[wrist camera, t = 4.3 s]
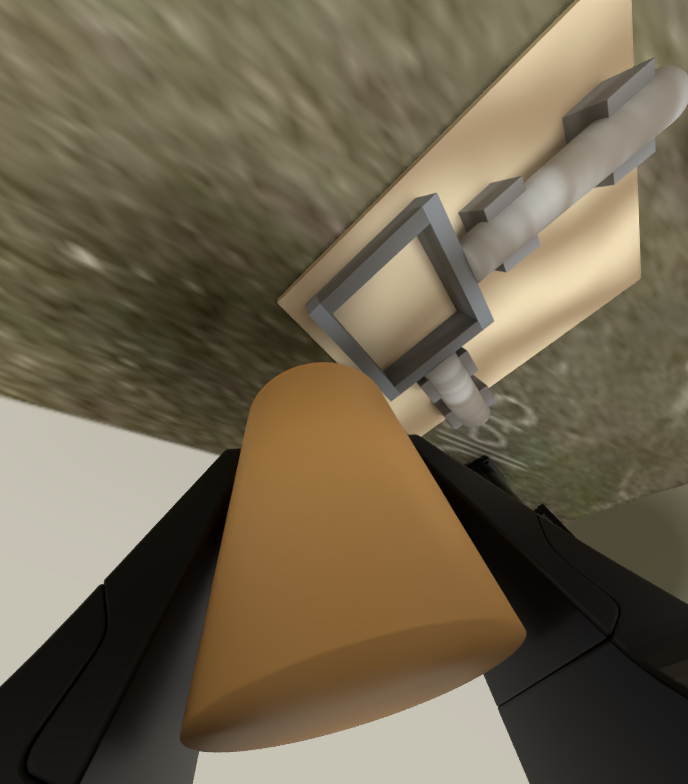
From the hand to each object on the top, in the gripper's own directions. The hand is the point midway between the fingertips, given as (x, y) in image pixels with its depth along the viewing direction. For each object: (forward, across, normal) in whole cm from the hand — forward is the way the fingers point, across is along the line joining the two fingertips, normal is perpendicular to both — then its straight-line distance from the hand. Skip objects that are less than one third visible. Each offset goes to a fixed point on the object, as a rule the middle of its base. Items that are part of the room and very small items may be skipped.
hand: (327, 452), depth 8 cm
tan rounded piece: (+1, 0, 0) cm, 1 cm away
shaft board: (+11, -11, -3) cm, 16 cm away
